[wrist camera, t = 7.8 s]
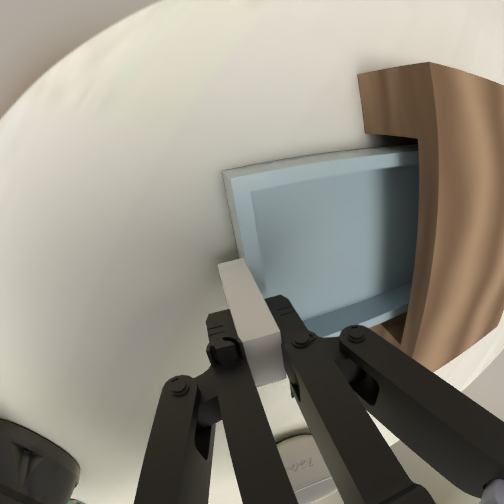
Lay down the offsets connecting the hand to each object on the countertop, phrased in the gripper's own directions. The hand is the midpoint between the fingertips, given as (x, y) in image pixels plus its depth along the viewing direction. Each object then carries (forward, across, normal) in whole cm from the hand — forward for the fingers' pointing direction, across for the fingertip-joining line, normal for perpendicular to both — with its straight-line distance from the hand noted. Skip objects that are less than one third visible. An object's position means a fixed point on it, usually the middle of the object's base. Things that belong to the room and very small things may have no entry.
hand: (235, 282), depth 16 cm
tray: (+2, +11, 0) cm, 11 cm away
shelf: (+2, +17, 0) cm, 17 cm away
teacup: (+2, +1, -28) cm, 28 cm away
